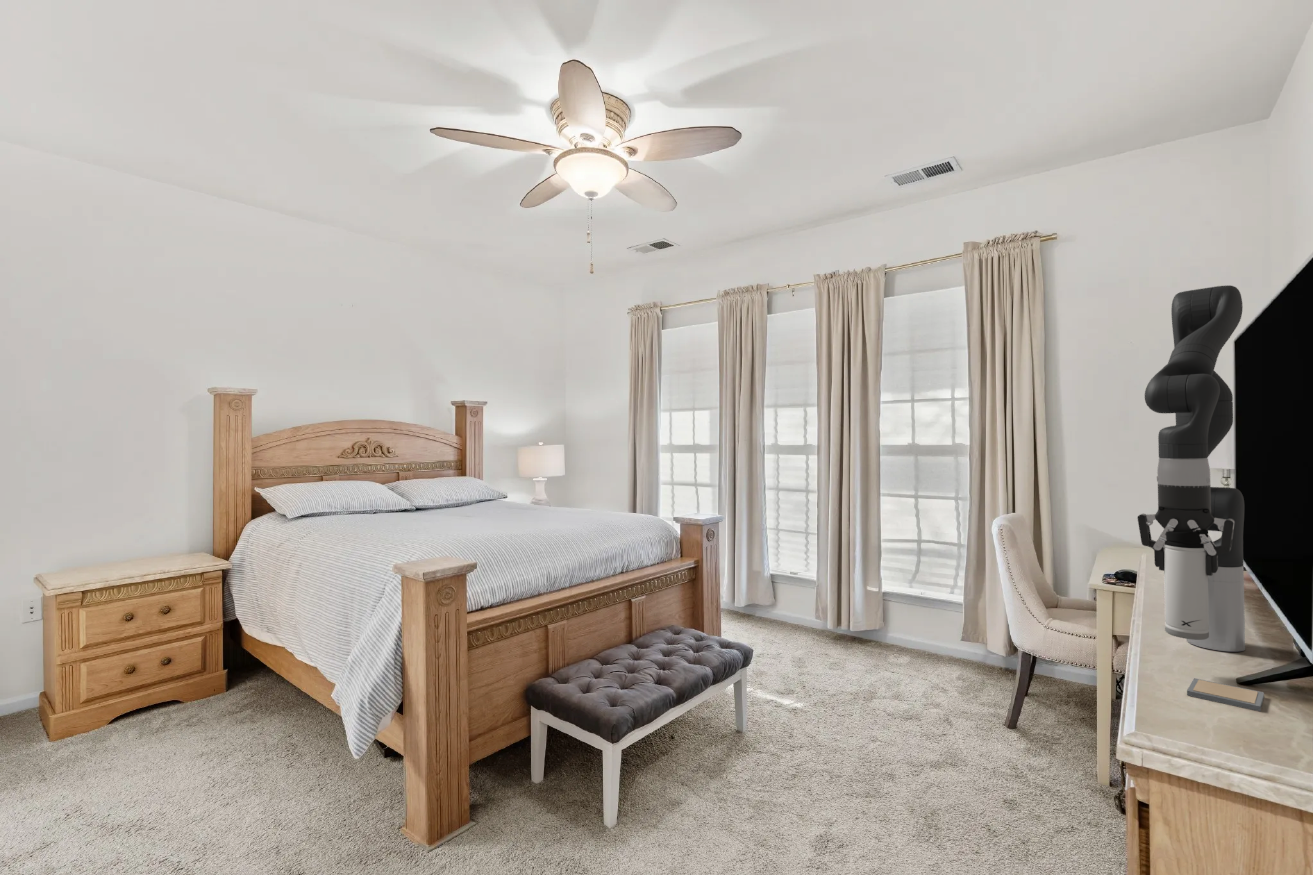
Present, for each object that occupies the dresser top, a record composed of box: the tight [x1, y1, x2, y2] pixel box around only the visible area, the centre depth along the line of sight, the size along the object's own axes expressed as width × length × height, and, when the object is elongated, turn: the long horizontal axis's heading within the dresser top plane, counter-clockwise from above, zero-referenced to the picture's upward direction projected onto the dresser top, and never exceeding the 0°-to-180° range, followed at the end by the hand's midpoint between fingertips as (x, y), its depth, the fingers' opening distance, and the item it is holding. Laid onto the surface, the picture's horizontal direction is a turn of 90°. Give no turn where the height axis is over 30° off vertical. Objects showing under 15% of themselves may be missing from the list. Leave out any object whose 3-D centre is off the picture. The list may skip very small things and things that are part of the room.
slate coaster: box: [1186, 678, 1265, 712], centre depth 106 cm, size 8×9×1 cm
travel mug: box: [1163, 530, 1209, 640], centre depth 116 cm, size 6×7×20 cm
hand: (1185, 572), depth 117 cm, fingers closed on travel mug, 6 cm apart
